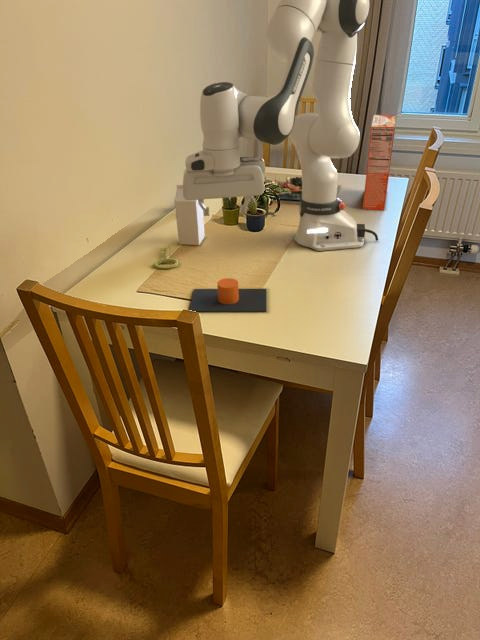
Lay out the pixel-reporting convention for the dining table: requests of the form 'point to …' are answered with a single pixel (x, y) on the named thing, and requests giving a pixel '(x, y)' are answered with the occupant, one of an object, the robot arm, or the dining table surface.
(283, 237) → the dining table surface
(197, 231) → the milk carton
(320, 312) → the dining table surface
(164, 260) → the key
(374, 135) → the red cereal box
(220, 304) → the mat
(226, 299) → the cylinder
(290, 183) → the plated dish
